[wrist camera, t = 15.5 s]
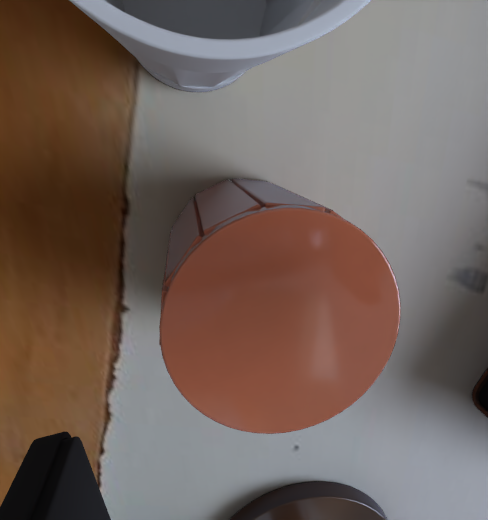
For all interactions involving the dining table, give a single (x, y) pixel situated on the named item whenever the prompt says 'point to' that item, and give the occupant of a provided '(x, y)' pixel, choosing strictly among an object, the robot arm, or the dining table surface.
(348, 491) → the disc
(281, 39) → the cup
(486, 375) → the alarm clock
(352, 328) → the tumbler
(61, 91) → the dining table surface
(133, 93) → the dining table surface
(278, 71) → the dining table surface
